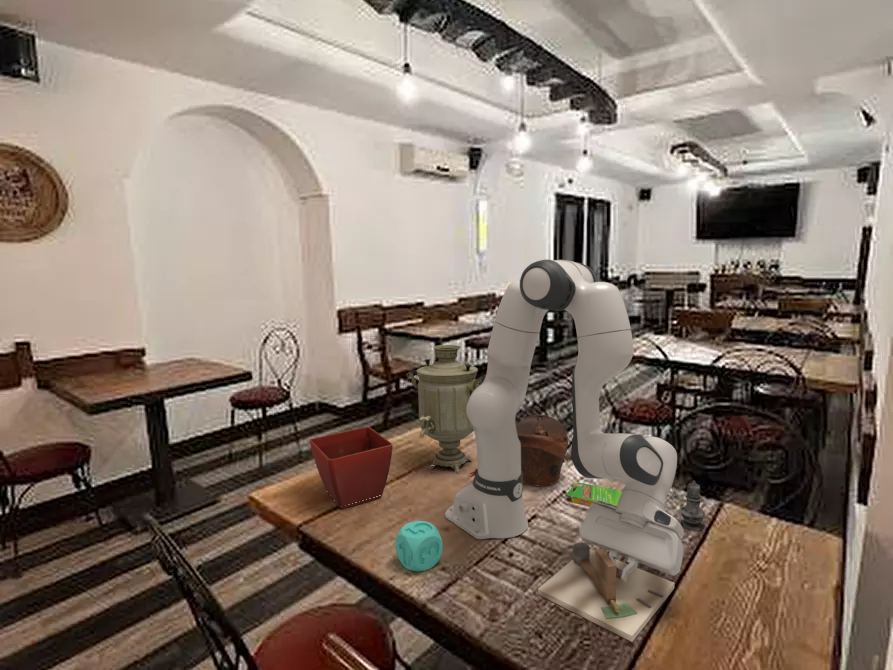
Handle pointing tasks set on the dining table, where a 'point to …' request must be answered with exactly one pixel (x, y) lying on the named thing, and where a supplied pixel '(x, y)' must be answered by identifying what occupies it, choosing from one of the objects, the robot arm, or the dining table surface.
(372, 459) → the plant pot
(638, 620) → the dial board
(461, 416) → the samovar
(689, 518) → the chess piece
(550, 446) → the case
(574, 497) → the game box
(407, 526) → the decorative dice
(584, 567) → the tuning lever
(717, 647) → the dining table surface
